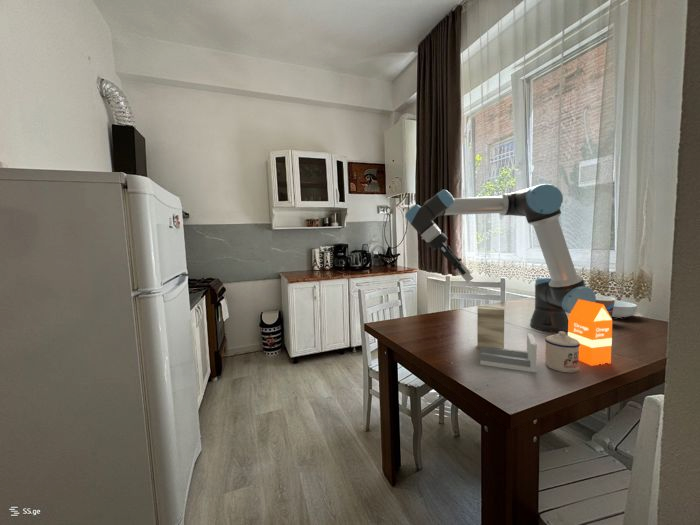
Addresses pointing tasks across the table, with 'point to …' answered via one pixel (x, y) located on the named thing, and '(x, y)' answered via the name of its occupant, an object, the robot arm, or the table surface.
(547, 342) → the teacup with lid
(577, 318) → the orange juice
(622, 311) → the cereal bowl
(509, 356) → the track
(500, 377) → the table surface
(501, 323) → the tall wooden block
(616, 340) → the table surface
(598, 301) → the coffee cup
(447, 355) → the table surface
